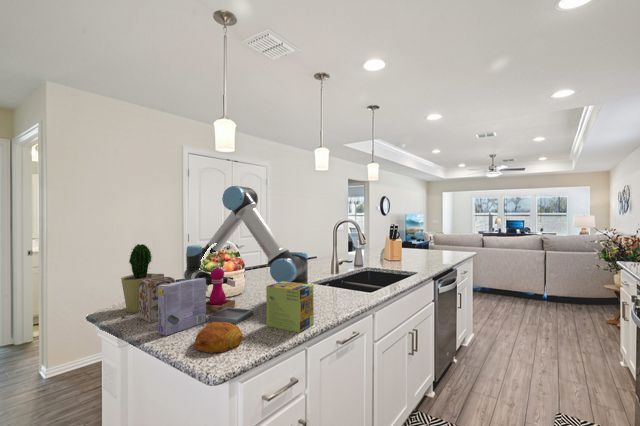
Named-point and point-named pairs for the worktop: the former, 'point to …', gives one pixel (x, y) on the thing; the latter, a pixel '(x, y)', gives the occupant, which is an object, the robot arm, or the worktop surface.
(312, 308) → the protein box
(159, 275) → the decorative jar
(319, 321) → the worktop surface
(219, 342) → the bread pastry
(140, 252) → the potted cactus
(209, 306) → the tray
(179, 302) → the cake pan box
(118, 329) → the worktop surface
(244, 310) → the tray
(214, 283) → the pepper mill
